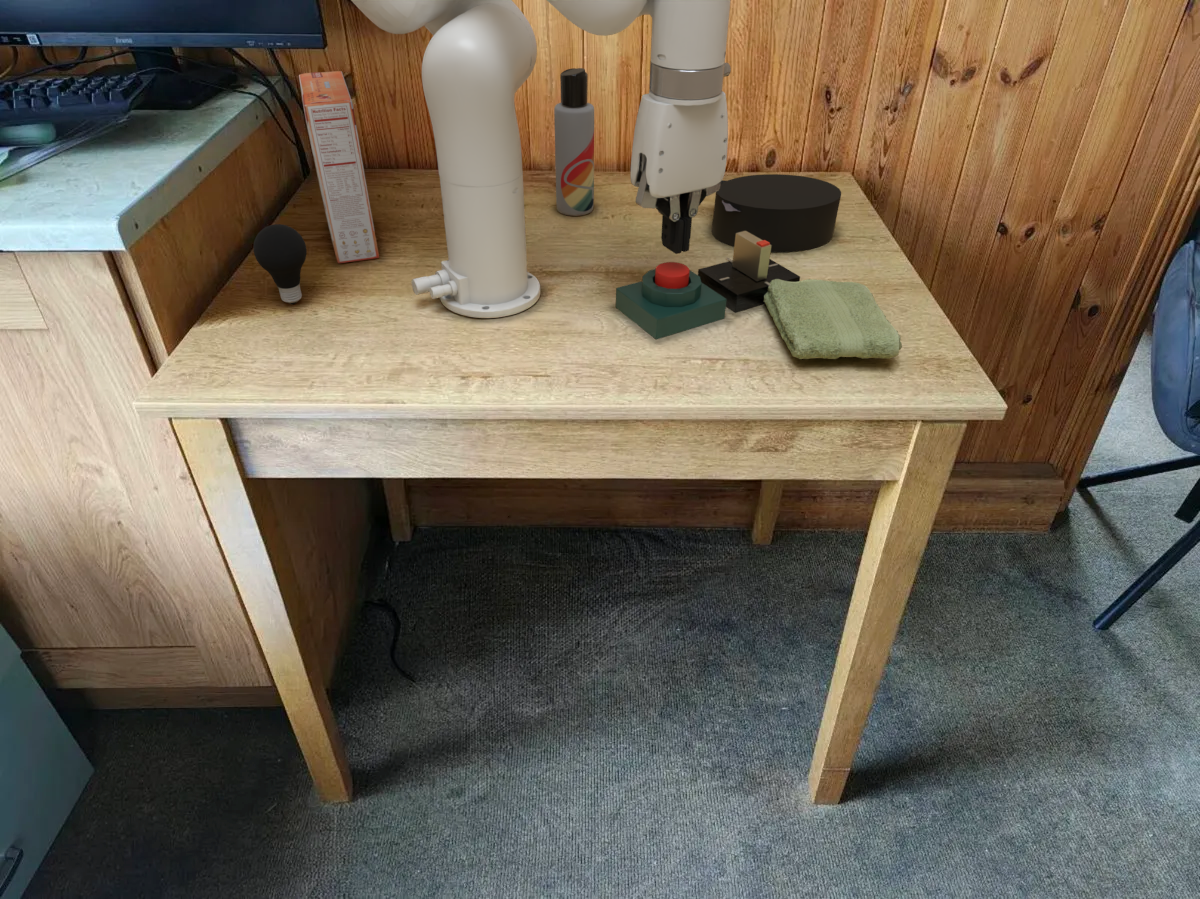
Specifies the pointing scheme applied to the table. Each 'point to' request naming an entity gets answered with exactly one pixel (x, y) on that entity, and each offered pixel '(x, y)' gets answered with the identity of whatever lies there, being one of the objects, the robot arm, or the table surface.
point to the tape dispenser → (777, 211)
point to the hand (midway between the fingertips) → (675, 248)
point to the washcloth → (830, 320)
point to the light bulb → (282, 258)
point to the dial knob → (751, 255)
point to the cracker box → (339, 165)
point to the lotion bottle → (574, 145)
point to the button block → (669, 305)
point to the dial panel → (742, 284)
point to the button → (672, 275)
